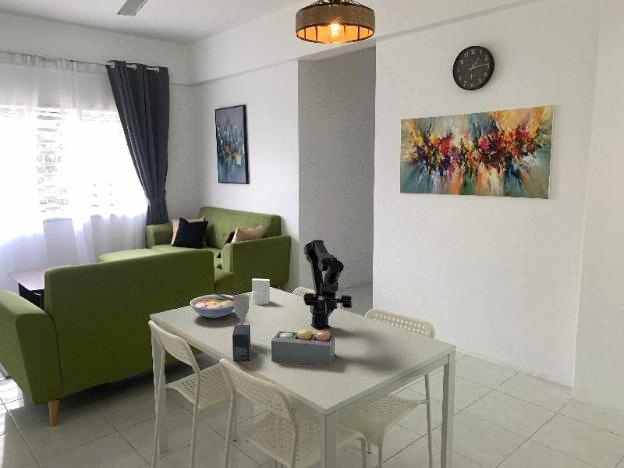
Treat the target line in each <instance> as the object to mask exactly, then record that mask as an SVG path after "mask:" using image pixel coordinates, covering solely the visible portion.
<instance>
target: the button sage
mask: <svg viewBox="0 0 624 468" xmlns="http://www.w3.org/2000/svg"><path fill="white" fill-rule="evenodd" d="M285 332H286V333H281V334H280V338H289V339H293V334H292V333H287V332H288V331H285Z"/></svg>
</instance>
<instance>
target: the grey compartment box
mask: <svg viewBox="0 0 624 468" xmlns="http://www.w3.org/2000/svg"><path fill="white" fill-rule="evenodd" d="M286 332H287V333H292V334H293V339H289V338H280V334H281V333H286ZM335 338H336V335H335V334H330V341H329V342H327V341H316V333H312V332H311V340H302V339H298V331H282V330H279V331H277V333H276V334H275V335H274V336H273V338H272V339H271V341H270V342H271V343H270V344H271V345H270V347H271V349H270V350H271V356H270V357H271V361H275V362H276V361H277V362H285V363H298V364H310V365H321V366H331V364H332V361H333V359H334V357H335V354H336V339H335Z"/></svg>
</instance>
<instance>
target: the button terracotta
mask: <svg viewBox="0 0 624 468" xmlns="http://www.w3.org/2000/svg"><path fill="white" fill-rule="evenodd" d="M315 334H316V341H327V342H329V341H330V335H331V332H330V331H328V330H322V329H320V330H317V331H316V332H315Z"/></svg>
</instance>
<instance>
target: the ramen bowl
mask: <svg viewBox="0 0 624 468" xmlns="http://www.w3.org/2000/svg"><path fill="white" fill-rule="evenodd" d="M233 296H234V295H229V294H219V293H217V292H216V293H215V292H212V294H209V295H207V294H206V295H202V296H198V297H195V298H193V299H191V300H190V302H189V305H190V307H191V308H192V309H193V310H194V311H195V312H196V313H197V314H198V315H200V316H202V317H205V318H209V319H220V318H223V317H224V316H227V315H229V314H230V313H232V312H233V311H235V310H234V299H233V298H232V297H233Z"/></svg>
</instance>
